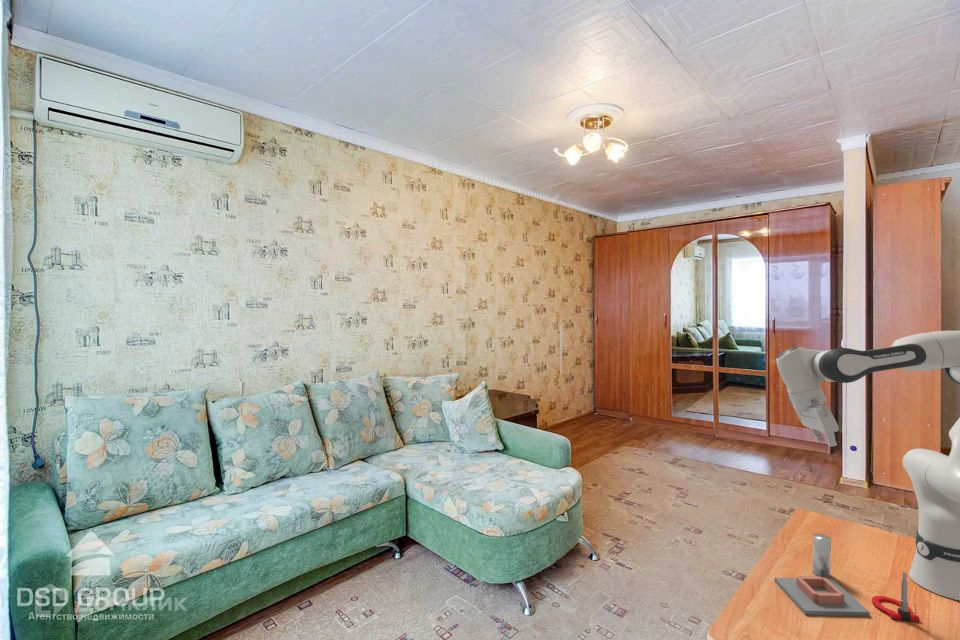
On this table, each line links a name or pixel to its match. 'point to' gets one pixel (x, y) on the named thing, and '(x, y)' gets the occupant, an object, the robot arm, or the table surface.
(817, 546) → the brushed steel cylinder
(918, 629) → the table surface
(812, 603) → the keeper
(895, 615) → the tow hook
